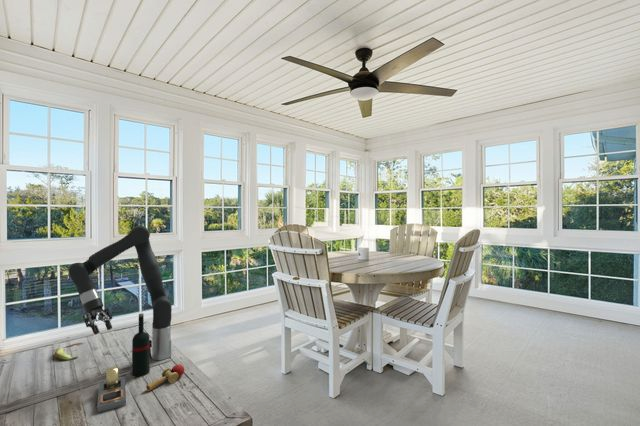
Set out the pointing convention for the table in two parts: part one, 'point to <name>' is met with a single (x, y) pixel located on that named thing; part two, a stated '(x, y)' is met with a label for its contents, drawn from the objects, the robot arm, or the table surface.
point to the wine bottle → (141, 351)
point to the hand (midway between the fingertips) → (103, 331)
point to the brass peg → (111, 378)
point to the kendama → (168, 376)
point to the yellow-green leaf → (63, 356)
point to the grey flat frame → (111, 396)
